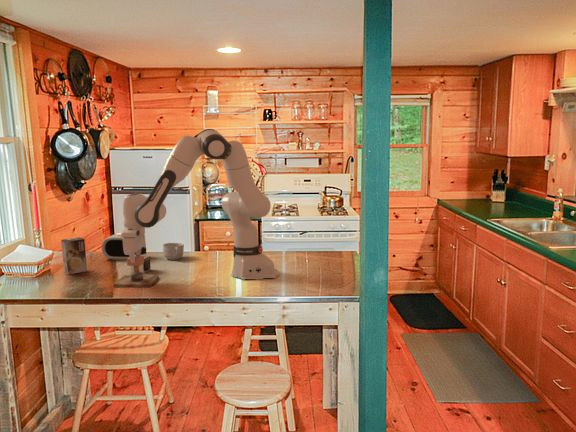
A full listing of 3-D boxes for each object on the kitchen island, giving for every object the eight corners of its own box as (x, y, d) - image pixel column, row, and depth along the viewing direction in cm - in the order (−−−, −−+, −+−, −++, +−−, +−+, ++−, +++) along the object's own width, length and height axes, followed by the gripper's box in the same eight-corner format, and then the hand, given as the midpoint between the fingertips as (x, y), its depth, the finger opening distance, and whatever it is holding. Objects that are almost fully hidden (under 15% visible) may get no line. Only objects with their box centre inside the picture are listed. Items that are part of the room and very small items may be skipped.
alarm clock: (101, 260, 264) (100, 235, 262) (108, 256, 273) (107, 232, 271) (140, 261, 263) (139, 236, 261) (146, 256, 273) (145, 232, 271)
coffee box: (83, 268, 248) (80, 236, 245) (87, 271, 243) (85, 239, 240) (63, 272, 242) (61, 239, 239) (67, 274, 237) (65, 241, 235)
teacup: (162, 257, 272) (162, 242, 271) (183, 255, 275) (182, 241, 274) (164, 263, 259) (164, 248, 257) (186, 261, 262) (185, 246, 261)
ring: (144, 262, 227) (143, 255, 226) (140, 265, 221) (140, 259, 220) (131, 262, 227) (131, 255, 226) (127, 265, 221) (126, 258, 220)
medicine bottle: (144, 273, 240) (142, 248, 238) (130, 272, 241) (129, 248, 240) (150, 269, 247) (149, 245, 245) (137, 268, 248) (136, 244, 246)
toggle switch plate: (158, 277, 232) (158, 256, 231) (150, 287, 218) (149, 264, 217) (124, 277, 232) (123, 256, 231) (113, 286, 219) (112, 264, 217)
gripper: (134, 225, 232) (135, 254, 234) (119, 234, 211) (121, 266, 214) (148, 225, 232) (149, 254, 234) (134, 234, 211) (136, 266, 214)
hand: (135, 260), depth 223 cm, fingers closed on ring, 6 cm apart
